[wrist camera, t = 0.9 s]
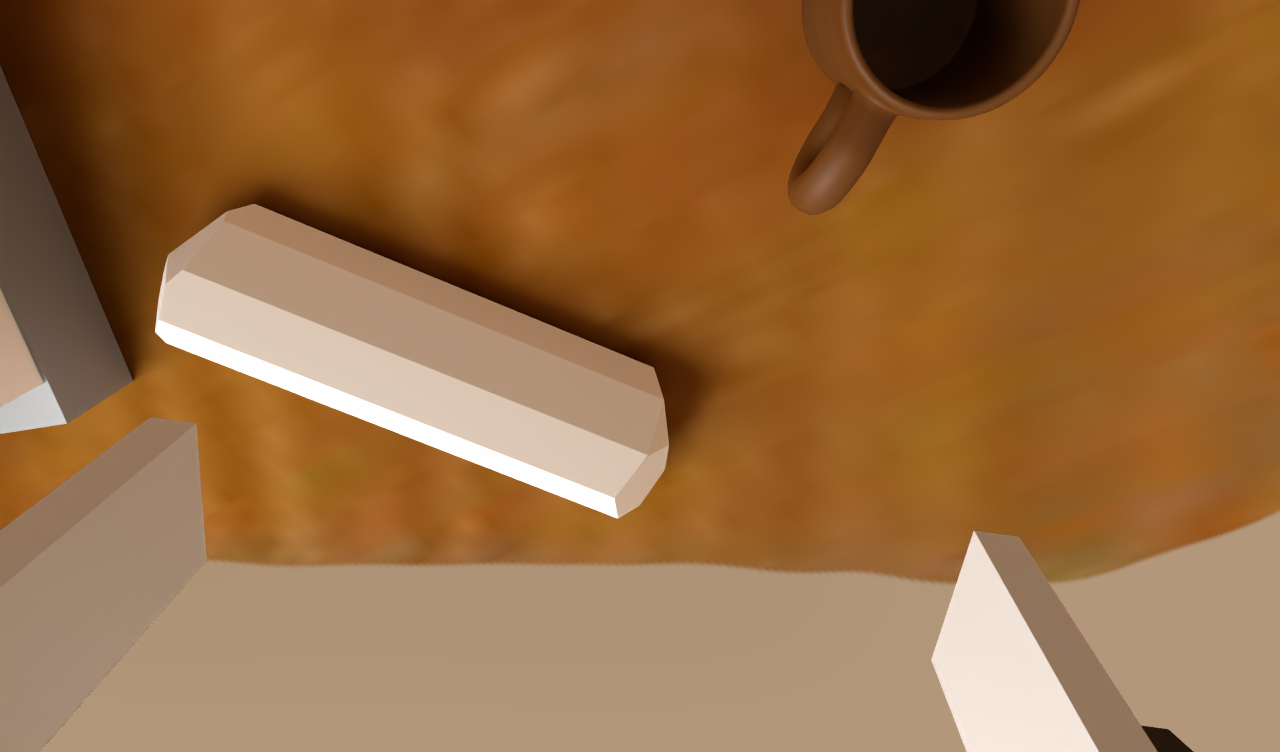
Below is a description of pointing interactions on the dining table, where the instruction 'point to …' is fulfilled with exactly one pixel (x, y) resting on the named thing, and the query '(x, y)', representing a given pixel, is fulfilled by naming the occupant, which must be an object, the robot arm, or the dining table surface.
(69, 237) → the console
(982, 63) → the mug
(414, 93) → the dining table surface
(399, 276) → the crystal
